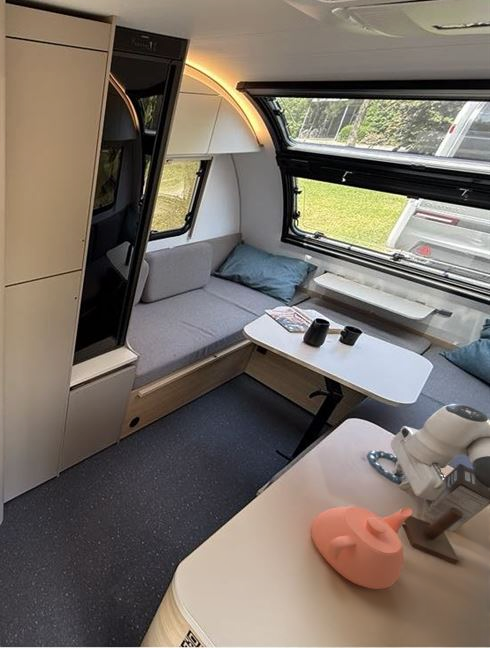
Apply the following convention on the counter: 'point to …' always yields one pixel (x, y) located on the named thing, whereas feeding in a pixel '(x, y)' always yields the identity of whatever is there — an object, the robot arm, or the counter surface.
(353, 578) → the teapot
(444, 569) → the counter surface
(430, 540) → the post
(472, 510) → the coffee box
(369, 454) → the ring
